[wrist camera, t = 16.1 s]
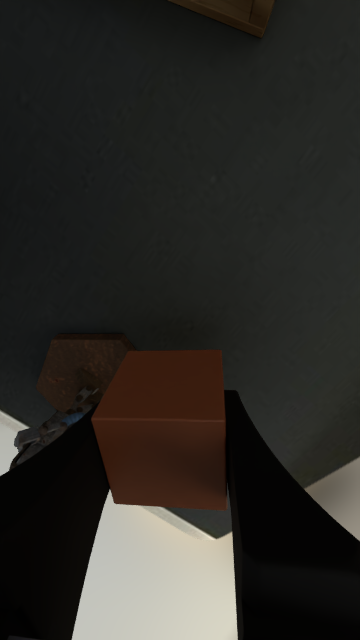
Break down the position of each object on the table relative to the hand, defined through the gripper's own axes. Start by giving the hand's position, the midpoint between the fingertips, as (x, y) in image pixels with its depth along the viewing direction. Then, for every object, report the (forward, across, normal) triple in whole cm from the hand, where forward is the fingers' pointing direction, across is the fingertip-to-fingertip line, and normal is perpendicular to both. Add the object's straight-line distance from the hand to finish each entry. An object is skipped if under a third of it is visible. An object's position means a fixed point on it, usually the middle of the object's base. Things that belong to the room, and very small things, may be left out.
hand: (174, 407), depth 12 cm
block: (+1, 0, 0) cm, 1 cm away
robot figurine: (+9, +8, +5) cm, 13 cm away
